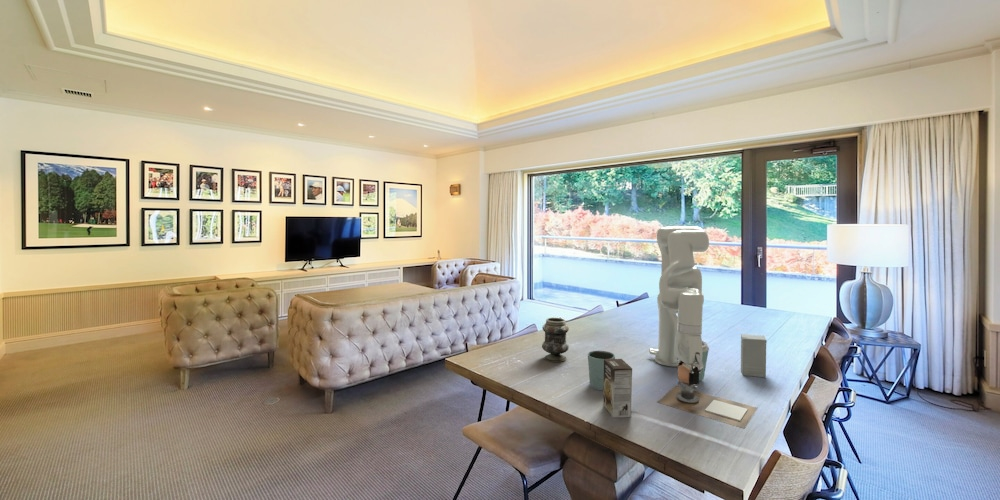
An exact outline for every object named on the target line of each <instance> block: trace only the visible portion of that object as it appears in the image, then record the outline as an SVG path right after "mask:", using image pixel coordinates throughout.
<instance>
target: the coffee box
mask: <svg viewBox="0 0 1000 500" xmlns="http://www.w3.org/2000/svg"><path fill="white" fill-rule="evenodd" d="M632 387H633V367H631V365H629V364H628V363H627V362H626V361H625V360H624V359H622V358H615V359H604V390H603V401H602V402H603V406H604V407H605V409H606V411H608V414H610V415H611V417H612V418H631V417H632V395H633V394H632V393H633V392H632V390H633V388H632Z"/></svg>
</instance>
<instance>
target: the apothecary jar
mask: <svg viewBox="0 0 1000 500" xmlns="http://www.w3.org/2000/svg"><path fill="white" fill-rule="evenodd" d="M569 330H570V327H569V325H567V322H566V319H564V318H560V317H547V318H546V320H545V323H543V325H542V331H543V332H544V341H543V342H542V344H541V348H542V349H543V351H545V352H546V353H548V354H546V355H545V356H544V357H543V358H544V360H545V361H547V362H552V363H561V362H565V361H566V360H567V357H566V356H565V355H564V353H566V352H567V351H569V348H570V347H569V346H570V345H569V344H568V342H567V333H568V332H569Z"/></svg>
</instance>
